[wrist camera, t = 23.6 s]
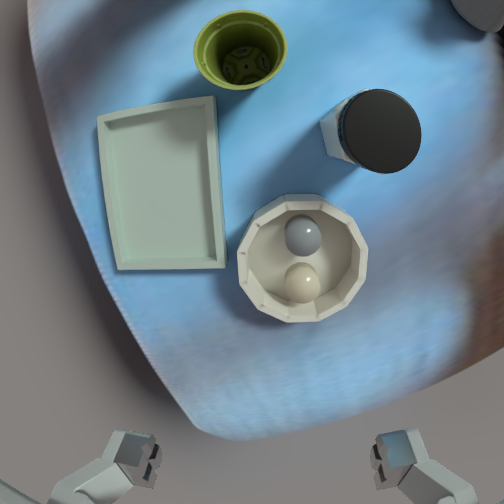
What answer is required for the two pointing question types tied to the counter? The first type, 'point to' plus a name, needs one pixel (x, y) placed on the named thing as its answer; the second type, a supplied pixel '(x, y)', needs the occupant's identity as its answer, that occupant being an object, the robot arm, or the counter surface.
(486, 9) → the coffee pot
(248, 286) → the bowl
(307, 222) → the grey ball
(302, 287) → the stone sand
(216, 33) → the plant pot
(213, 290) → the counter surface
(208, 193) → the parts tray
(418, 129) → the jar
